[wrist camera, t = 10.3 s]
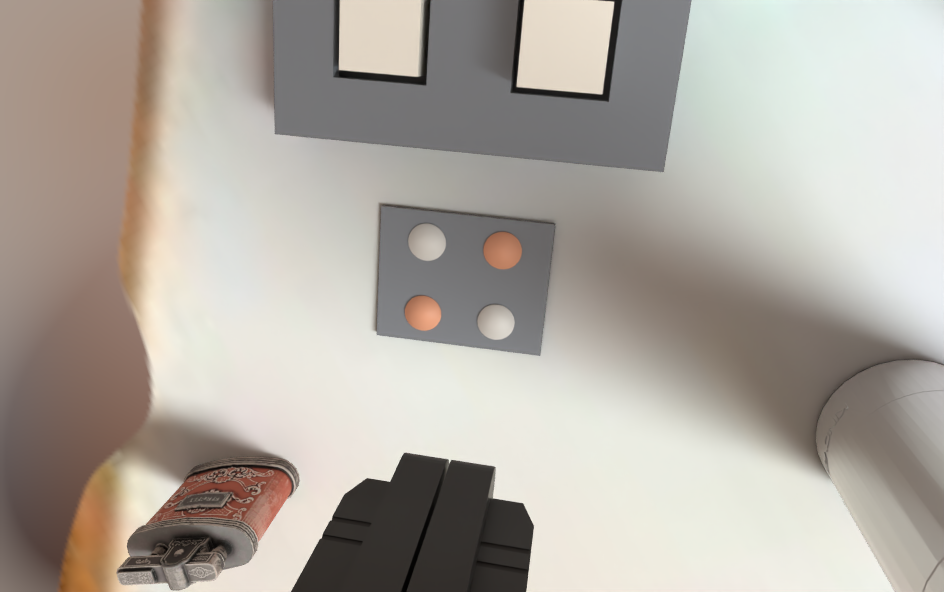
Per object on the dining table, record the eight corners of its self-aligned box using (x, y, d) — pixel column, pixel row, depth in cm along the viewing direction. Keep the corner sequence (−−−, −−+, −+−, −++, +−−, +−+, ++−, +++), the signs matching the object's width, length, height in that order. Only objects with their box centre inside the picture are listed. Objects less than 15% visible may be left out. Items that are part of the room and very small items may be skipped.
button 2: (432, -8, 37) (421, -11, 35) (428, 74, 38) (417, 76, 36) (355, -13, 38) (340, -18, 35) (354, 68, 39) (338, 70, 36)
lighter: (293, 452, 49) (224, 549, 39) (304, 496, 50) (240, 600, 40) (183, 461, 50) (92, 556, 41) (197, 503, 51) (111, 606, 42)
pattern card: (555, 223, 41) (555, 225, 41) (540, 353, 44) (539, 356, 44) (382, 205, 42) (380, 206, 42) (378, 333, 45) (376, 335, 45)
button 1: (612, 4, 35) (614, 1, 33) (601, 91, 36) (602, 94, 34) (528, -2, 35) (524, -5, 33) (520, 84, 37) (516, 86, 34)
